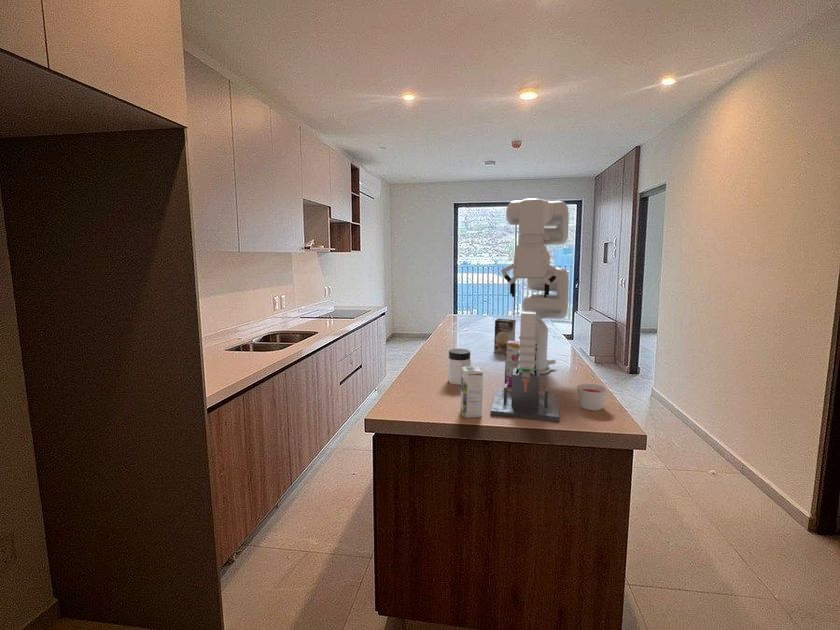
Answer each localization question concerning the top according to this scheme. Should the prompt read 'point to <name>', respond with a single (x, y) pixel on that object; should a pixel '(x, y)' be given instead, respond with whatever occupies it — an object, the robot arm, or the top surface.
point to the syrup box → (471, 392)
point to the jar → (457, 364)
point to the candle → (591, 396)
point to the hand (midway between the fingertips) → (529, 296)
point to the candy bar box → (514, 359)
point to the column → (527, 342)
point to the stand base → (525, 399)
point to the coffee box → (503, 334)
